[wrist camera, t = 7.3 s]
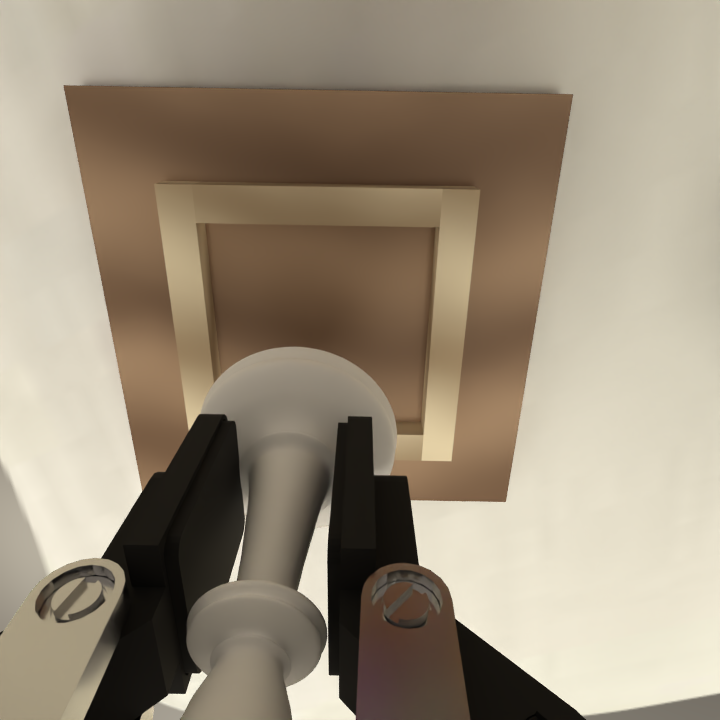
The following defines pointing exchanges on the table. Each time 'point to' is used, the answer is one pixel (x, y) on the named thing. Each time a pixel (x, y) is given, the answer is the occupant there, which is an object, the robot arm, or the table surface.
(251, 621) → the chess piece
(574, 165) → the table surface
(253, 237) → the walnut plate
